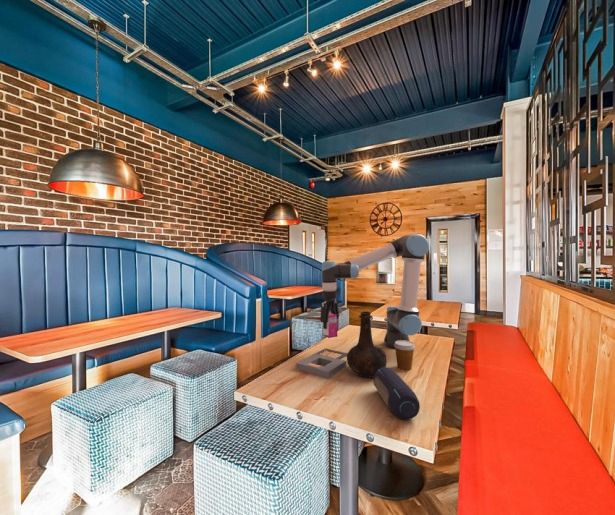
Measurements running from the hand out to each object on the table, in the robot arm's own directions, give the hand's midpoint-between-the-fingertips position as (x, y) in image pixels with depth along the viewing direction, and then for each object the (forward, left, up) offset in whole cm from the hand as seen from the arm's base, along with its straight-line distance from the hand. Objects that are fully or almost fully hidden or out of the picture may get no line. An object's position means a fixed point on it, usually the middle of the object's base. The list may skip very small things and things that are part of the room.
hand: (330, 332), depth 159 cm
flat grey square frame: (0, 0, -12) cm, 12 cm away
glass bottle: (-26, +10, -12) cm, 30 cm away
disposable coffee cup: (-38, -6, -12) cm, 40 cm away
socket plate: (-6, +17, -12) cm, 22 cm away
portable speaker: (-46, +30, -12) cm, 56 cm away
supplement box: (0, 0, -2) cm, 2 cm away
